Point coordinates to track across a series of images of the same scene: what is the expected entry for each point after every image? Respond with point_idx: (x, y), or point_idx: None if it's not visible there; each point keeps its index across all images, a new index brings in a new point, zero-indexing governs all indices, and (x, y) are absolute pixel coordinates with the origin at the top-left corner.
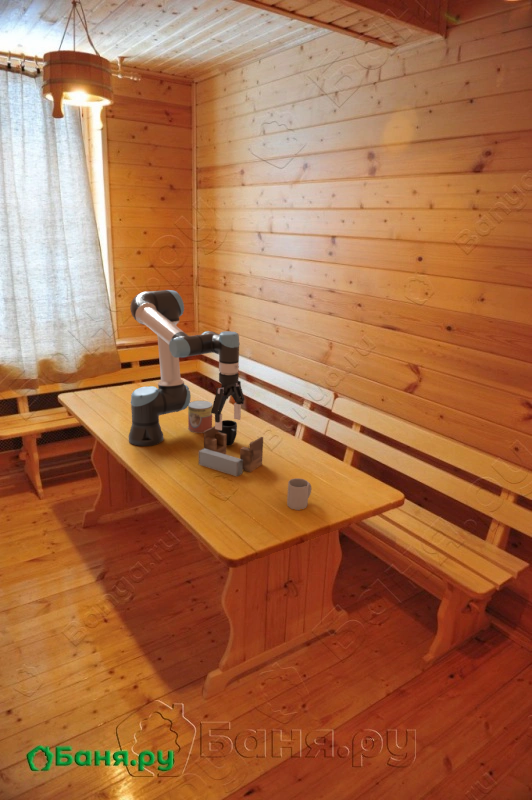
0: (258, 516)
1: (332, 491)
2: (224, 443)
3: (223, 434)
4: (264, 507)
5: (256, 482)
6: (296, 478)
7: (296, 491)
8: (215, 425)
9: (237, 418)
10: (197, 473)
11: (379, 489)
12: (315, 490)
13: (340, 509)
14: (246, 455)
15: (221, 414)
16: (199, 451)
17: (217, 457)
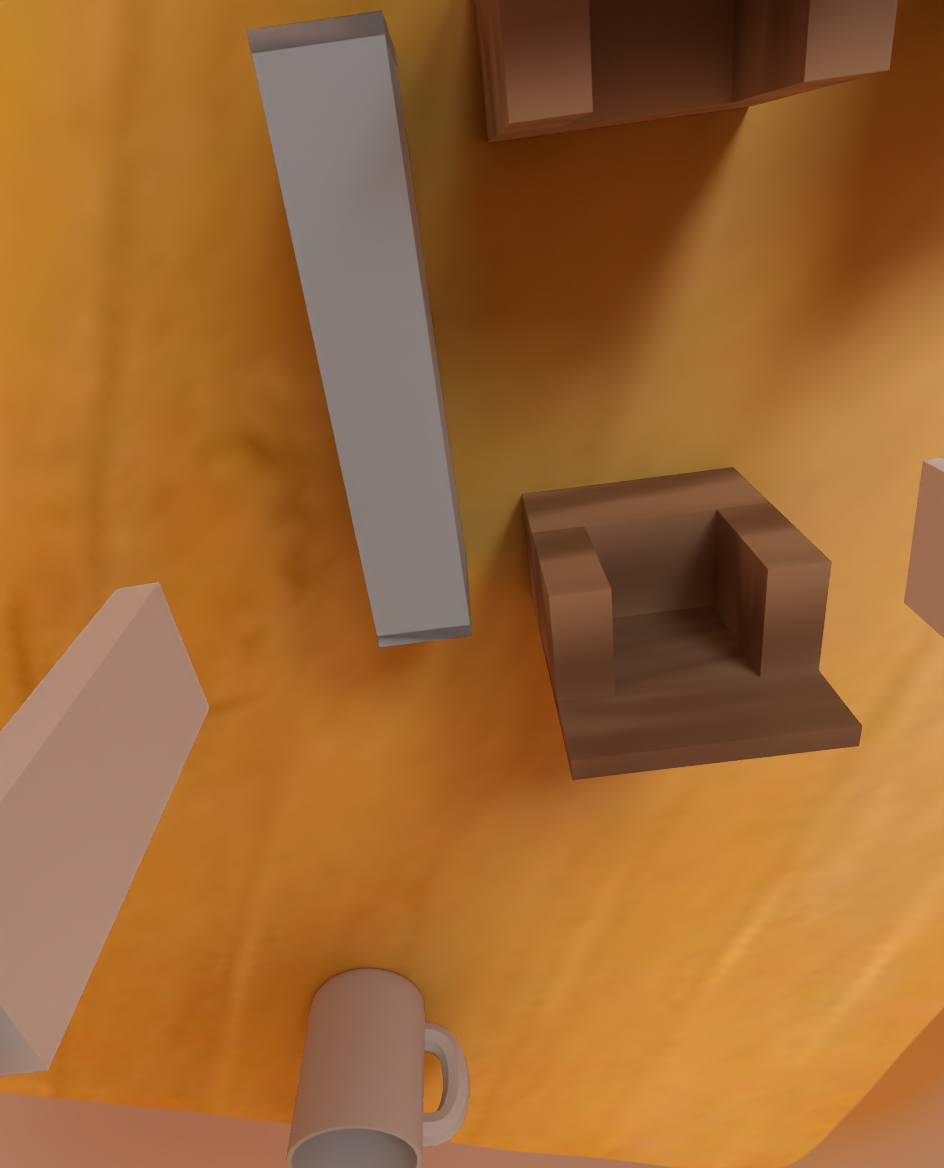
0: (109, 952)
1: (636, 1026)
2: (765, 96)
3: (844, 37)
4: (208, 923)
5: (422, 726)
6: (397, 1134)
7: (301, 1147)
8: (83, 645)
9: (926, 562)
10: (133, 246)
11: (796, 1120)
12: (587, 979)
13: (490, 1109)
14: (547, 636)
15: (16, 1062)
16: (253, 51)
17: (327, 389)
